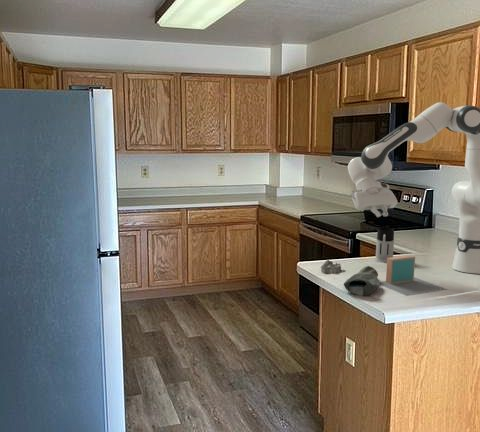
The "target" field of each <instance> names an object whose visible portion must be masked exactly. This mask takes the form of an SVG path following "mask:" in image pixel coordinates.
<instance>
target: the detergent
mask: <svg viewBox="0 0 480 432" xmlns="http://www.w3.org/2000/svg"><path fill="white" fill-rule="evenodd" d="M378 276H379V274H378V271H377V270H376V269H375V268H374V267H373V266H371V265H370V266H369V265H367V266H363V267H362V268H361V269H360V271H358V272H357V273H354V274H352V276H350V277H349V278H348V279H346V280H345V281H344V282H343V286H344V288H345V290H346V291H348V292H349V294H352V295H355V296H361V297H363V296H364V297H365V296H368V295H370V294H371V295H372V294H373V293H374V292H375V290H376V289H378V287H379V286H380V283H379V282H380V279H379V278H378Z"/></svg>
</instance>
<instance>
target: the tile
mask: <svg viewBox="0 0 480 432" xmlns="http://www.w3.org/2000/svg"><path fill="white" fill-rule="evenodd" d="M415 263H416V256H415V255H412V254H411V255H401V256H395V257H394V256H393V257H392V258H387V263H386V275H385V276H386V277H385V281H386V283H389V284H395V283H401V282H408V281H414V277H415V269H416V268H415V267H416V266H415Z"/></svg>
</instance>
